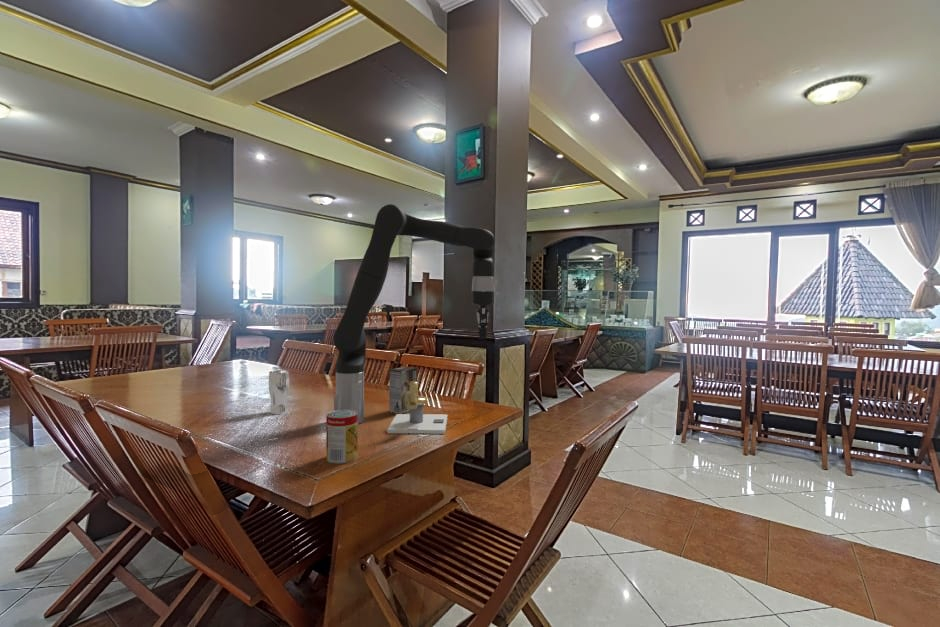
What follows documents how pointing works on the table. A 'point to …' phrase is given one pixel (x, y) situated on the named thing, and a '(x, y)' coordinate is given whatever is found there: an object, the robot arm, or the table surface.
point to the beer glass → (278, 391)
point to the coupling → (415, 396)
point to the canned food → (341, 436)
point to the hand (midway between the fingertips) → (482, 338)
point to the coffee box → (400, 388)
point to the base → (423, 426)
